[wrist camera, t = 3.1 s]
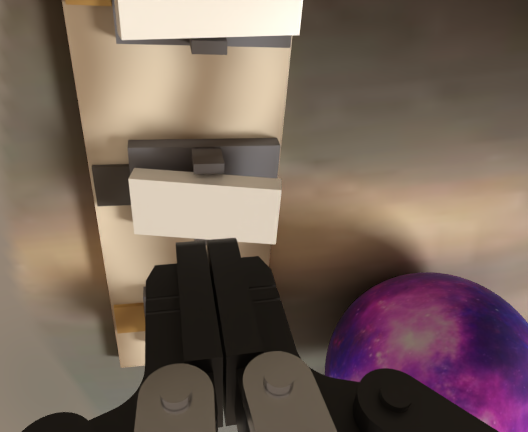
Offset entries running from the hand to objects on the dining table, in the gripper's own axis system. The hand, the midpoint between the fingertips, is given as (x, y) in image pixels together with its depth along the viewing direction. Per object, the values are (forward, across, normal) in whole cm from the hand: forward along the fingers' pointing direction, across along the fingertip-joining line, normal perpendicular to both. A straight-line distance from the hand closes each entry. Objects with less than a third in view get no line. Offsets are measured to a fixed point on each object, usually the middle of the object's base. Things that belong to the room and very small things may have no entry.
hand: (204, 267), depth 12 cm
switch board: (+16, 0, +7) cm, 18 cm away
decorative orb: (+16, -17, +20) cm, 31 cm away
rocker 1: (+13, -2, -4) cm, 14 cm away
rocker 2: (+13, -1, +7) cm, 15 cm away
